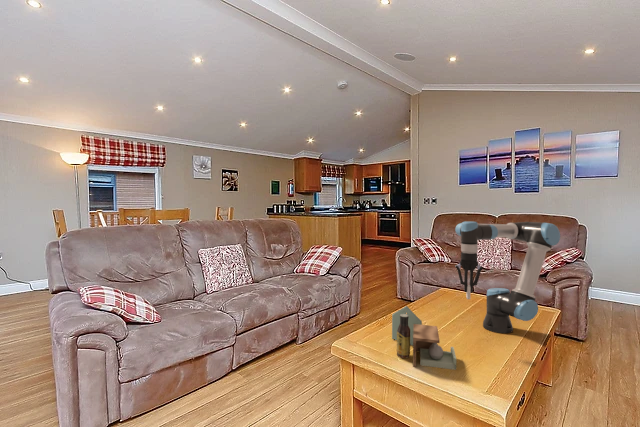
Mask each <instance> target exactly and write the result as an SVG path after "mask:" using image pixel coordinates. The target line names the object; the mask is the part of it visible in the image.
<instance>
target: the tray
mask: <svg viewBox="0 0 640 427" xmlns="http://www.w3.org/2000/svg"><path fill="white" fill-rule="evenodd" d="M419 358H420V359H419V360H420V362H419V363H420V365H419V366H424V367H430V368H440V369H446V370H452V371H455V370H457V355H456V350H455V348H454V346H450V351H447V350H446V351H445V350H443V356H442V358H441V359H438V360H436V359H433V358H431V356H430V355H429V349H422V348H420V352H419Z"/></svg>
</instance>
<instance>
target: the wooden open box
mask: <svg viewBox="0 0 640 427" xmlns="http://www.w3.org/2000/svg"><path fill="white" fill-rule="evenodd" d="M440 342H441V341H440V335H439V331H438V326H437V325H429V324H428V325H427V324H426V325H425V324H422V325H419V324H414V326H413V346H412V368H416V367H417V353H420V348H422V349H429V347H430V346H431V345H432V344H433V343H437V344H440Z"/></svg>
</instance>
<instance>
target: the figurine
mask: <svg viewBox="0 0 640 427" xmlns="http://www.w3.org/2000/svg"><path fill="white" fill-rule="evenodd" d="M443 351H444V349H443V348H442V346H440V345H439V343H433V344H432V345H431V346H430V347H429V355H430V356H431V358H433V359H436V360H438V359H441V358H442V356H443Z"/></svg>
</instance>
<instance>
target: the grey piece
mask: <svg viewBox="0 0 640 427" xmlns="http://www.w3.org/2000/svg"><path fill="white" fill-rule="evenodd" d="M400 314H407V315H408V316H409V318H408V326H409V328H410V346H412V347H413V326H414V324H419V325H423V323H422V320H421V319H420V317H418V316H417V315H416V314H415V313H414V312H413V311H412V310H411V308H409V306H407V305H405V306H404V307H402V308H400V309H398V310H397V311H395V312H393V313H392V314H391V317H392V318H391V319H392V320H391V322H392V323H391V340H392V339H395V340H397V330H398V327H399V324H400ZM395 340H394V341H395Z"/></svg>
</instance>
